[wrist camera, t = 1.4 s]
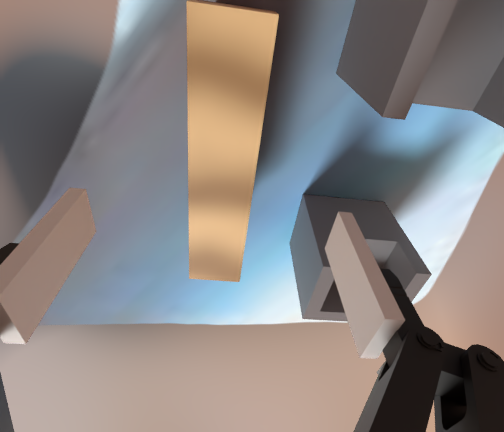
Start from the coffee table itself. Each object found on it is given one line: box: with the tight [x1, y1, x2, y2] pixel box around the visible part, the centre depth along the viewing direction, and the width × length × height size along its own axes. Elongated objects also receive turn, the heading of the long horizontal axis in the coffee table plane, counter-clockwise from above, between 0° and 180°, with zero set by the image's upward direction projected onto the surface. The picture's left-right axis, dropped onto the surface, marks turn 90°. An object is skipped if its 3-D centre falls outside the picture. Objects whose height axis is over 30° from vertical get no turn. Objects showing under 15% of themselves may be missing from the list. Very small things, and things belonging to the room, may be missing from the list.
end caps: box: [290, 0, 504, 321], centre depth 22 cm, size 24×8×10 cm, turn 173°
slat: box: [187, 0, 279, 282], centre depth 19 cm, size 18×4×2 cm, turn 173°
